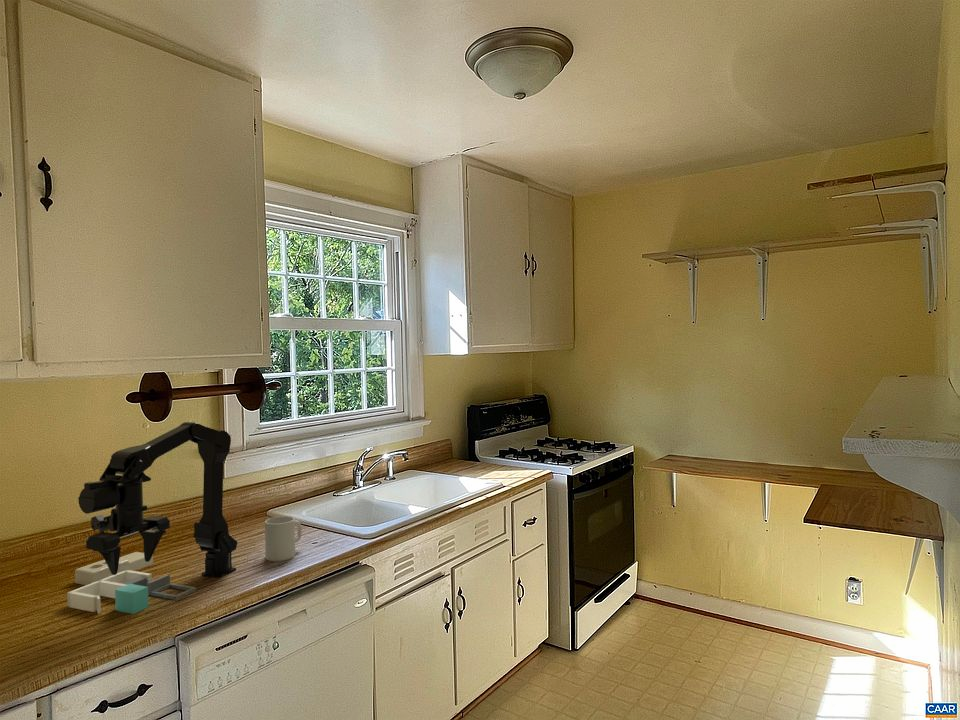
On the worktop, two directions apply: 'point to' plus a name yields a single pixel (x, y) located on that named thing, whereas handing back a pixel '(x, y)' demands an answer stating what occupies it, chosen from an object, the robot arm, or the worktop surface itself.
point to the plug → (131, 598)
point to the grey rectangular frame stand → (164, 583)
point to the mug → (281, 538)
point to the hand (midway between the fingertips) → (131, 567)
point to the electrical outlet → (102, 570)
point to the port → (104, 589)
